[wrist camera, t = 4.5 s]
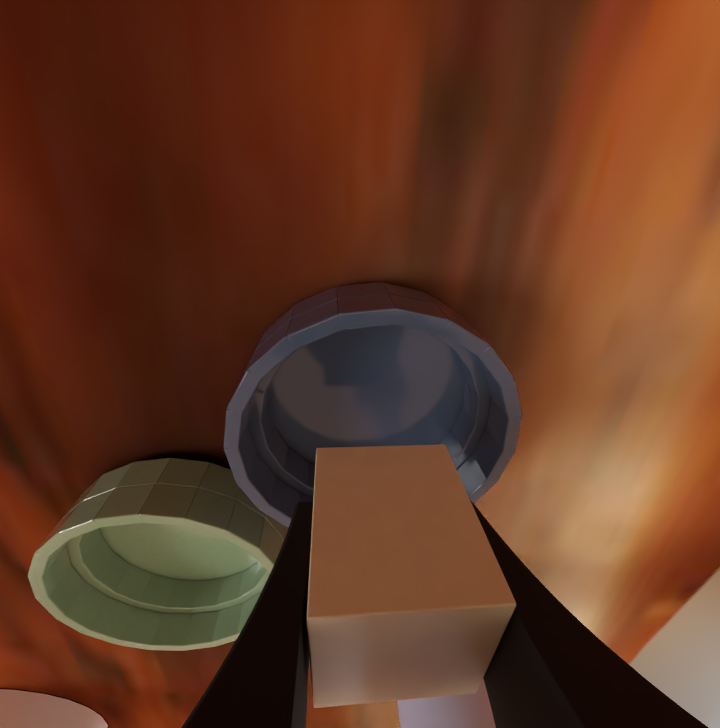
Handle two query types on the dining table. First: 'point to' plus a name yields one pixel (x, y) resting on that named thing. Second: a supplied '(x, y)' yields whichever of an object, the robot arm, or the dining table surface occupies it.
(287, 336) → the slate bowl
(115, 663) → the dining table surface
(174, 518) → the sage bowl
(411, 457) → the block
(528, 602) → the robot arm
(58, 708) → the cylinder
